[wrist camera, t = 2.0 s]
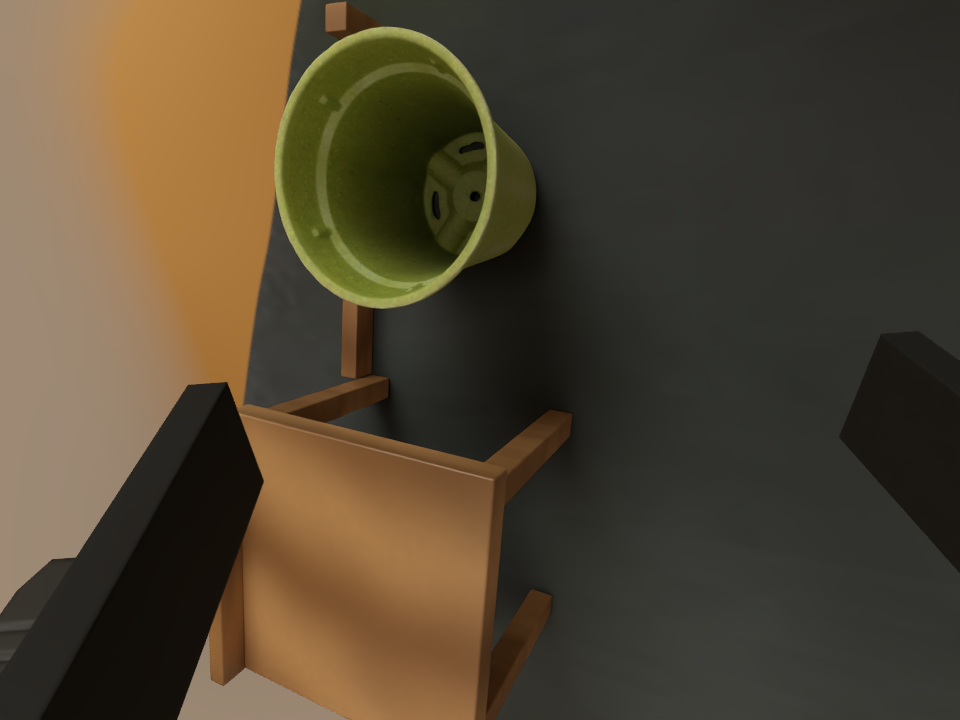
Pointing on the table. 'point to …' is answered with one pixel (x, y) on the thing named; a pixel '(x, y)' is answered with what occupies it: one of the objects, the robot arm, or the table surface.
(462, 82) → the plant pot
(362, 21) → the plant stand
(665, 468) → the table surface
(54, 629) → the robot arm
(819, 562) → the table surface
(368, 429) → the table surface
